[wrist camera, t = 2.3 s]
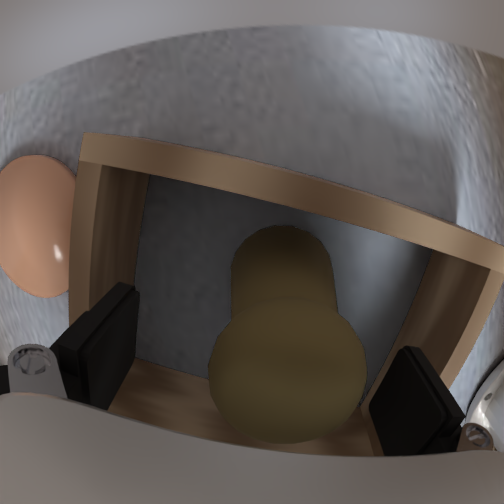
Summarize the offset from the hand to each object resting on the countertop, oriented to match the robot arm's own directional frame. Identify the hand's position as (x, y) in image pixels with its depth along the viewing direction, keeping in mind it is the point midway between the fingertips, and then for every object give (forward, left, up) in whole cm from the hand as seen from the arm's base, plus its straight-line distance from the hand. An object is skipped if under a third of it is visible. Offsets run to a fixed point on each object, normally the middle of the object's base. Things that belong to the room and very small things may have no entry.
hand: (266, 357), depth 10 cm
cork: (-1, 0, -9) cm, 9 cm away
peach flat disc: (+16, +1, -9) cm, 18 cm away
